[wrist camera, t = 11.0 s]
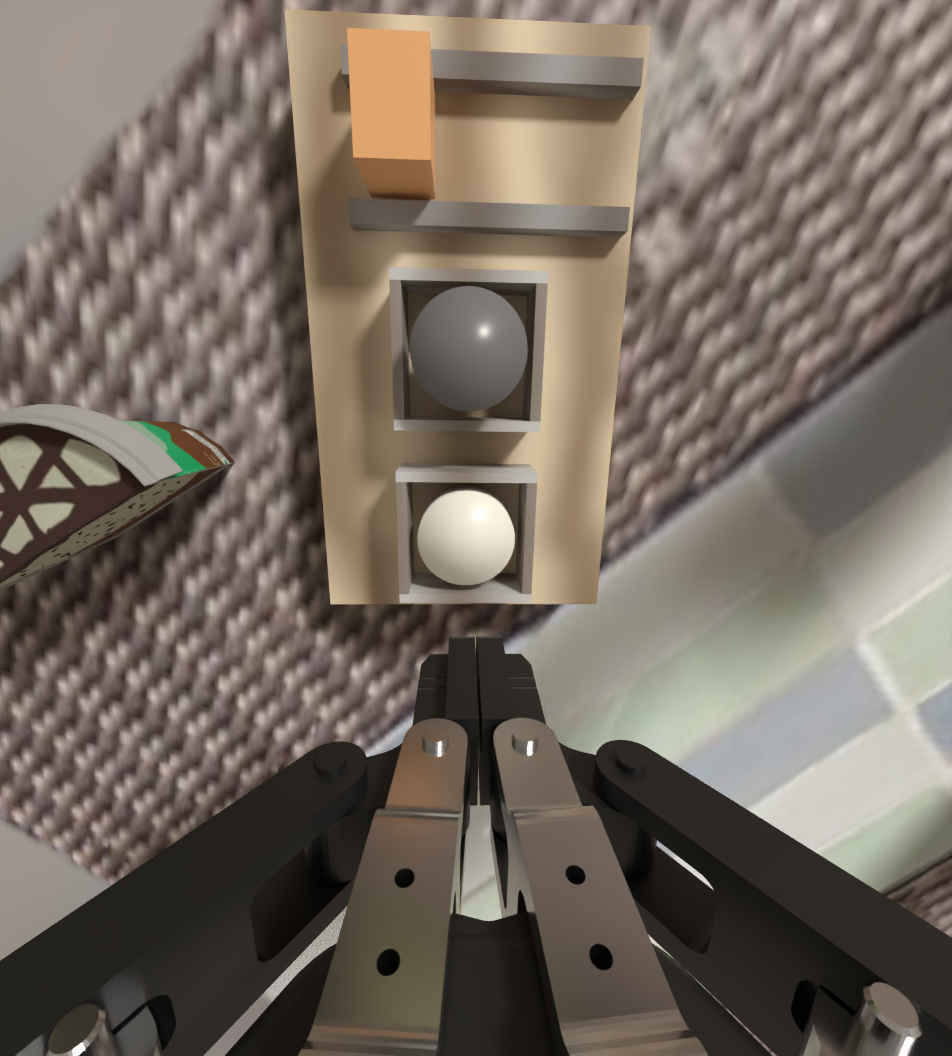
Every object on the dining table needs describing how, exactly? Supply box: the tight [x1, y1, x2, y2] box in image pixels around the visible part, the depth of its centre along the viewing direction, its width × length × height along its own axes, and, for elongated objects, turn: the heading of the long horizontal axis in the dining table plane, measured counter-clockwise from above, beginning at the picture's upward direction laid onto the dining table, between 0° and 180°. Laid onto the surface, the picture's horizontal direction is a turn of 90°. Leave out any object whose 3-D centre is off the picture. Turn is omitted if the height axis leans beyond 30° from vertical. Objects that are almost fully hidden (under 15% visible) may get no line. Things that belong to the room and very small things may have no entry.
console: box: [285, 10, 651, 604], centre depth 25 cm, size 16×28×7 cm, turn 179°
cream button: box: [417, 485, 515, 585], centre depth 25 cm, size 5×5×2 cm
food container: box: [0, 404, 235, 590], centre depth 25 cm, size 12×6×10 cm, turn 121°
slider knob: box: [347, 28, 436, 199], centre depth 20 cm, size 3×4×4 cm
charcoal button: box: [410, 286, 528, 411], centre depth 21 cm, size 5×5×2 cm
